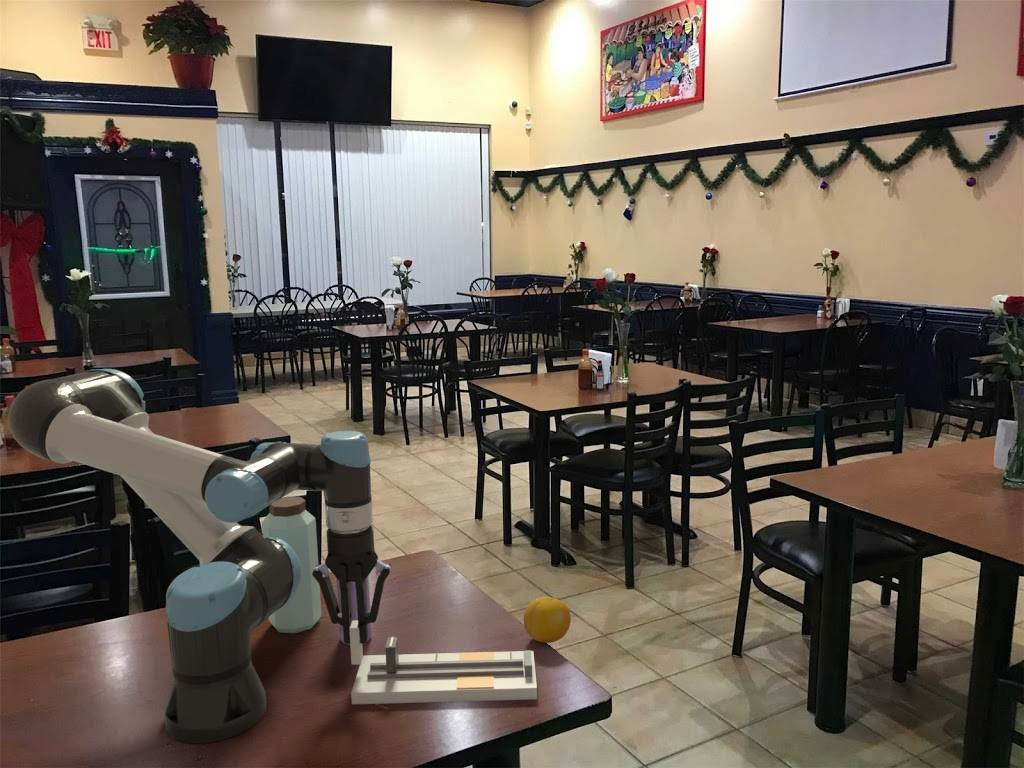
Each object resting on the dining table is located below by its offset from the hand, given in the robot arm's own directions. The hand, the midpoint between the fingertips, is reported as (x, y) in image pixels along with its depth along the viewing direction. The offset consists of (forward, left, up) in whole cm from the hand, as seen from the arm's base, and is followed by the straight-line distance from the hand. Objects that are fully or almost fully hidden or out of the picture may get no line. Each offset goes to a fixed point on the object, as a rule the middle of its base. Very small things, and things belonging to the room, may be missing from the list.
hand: (357, 660), depth 136 cm
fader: (+6, 0, -2) cm, 6 cm away
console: (+15, 0, -4) cm, 16 cm away
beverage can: (-3, +16, -5) cm, 17 cm away
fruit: (+33, +14, -5) cm, 36 cm away
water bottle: (-16, +23, -5) cm, 28 cm away
